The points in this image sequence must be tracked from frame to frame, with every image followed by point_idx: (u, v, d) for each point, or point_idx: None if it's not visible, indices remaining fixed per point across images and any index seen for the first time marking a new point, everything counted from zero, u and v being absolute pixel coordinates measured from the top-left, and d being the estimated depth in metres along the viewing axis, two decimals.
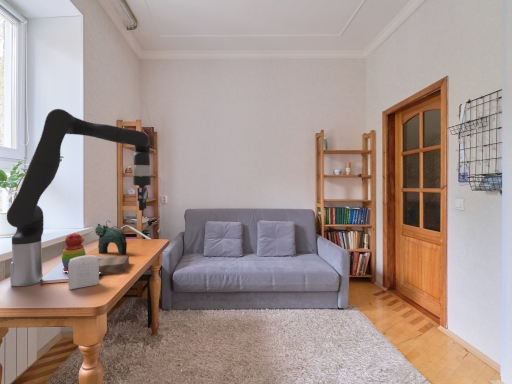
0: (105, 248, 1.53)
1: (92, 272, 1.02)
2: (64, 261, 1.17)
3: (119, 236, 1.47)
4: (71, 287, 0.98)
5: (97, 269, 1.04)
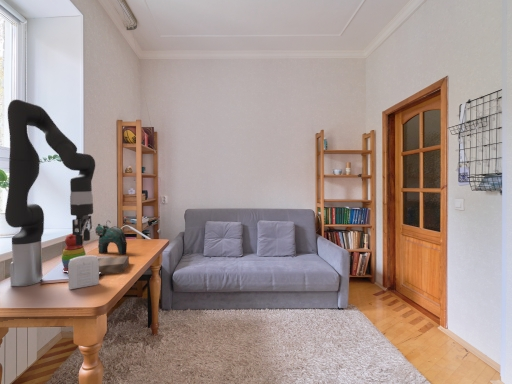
0: (105, 248, 1.53)
1: (92, 272, 1.02)
2: (64, 261, 1.17)
3: (119, 236, 1.47)
4: (71, 287, 0.98)
5: (97, 269, 1.04)
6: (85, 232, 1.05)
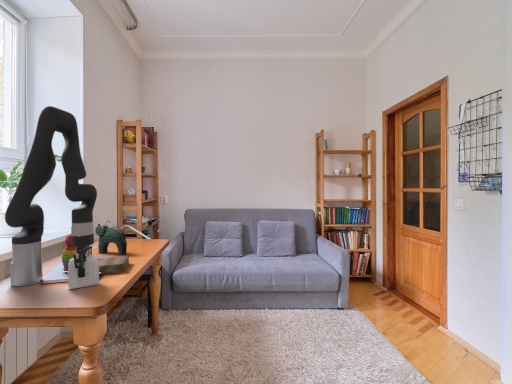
0: (105, 248, 1.53)
1: (92, 272, 1.02)
2: (64, 261, 1.17)
3: (119, 236, 1.47)
4: (71, 287, 0.98)
5: (97, 269, 1.04)
6: None
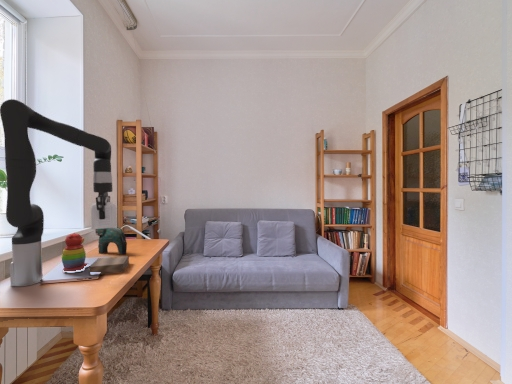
0: (105, 248, 1.53)
1: (111, 215, 1.17)
2: (64, 261, 1.17)
3: (119, 236, 1.47)
4: (94, 227, 1.14)
5: (115, 214, 1.19)
6: None
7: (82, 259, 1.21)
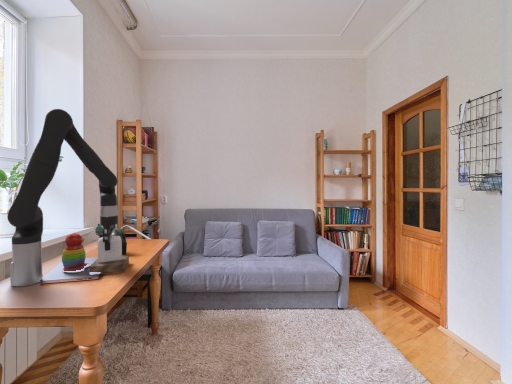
0: None
1: (116, 249, 1.22)
2: (64, 261, 1.17)
3: None
4: (100, 261, 1.19)
5: (120, 247, 1.24)
6: None
7: (82, 259, 1.21)
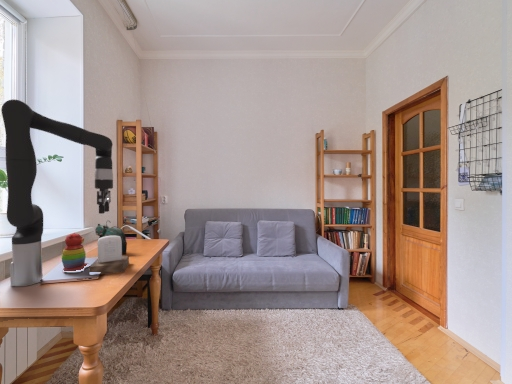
0: None
1: (116, 249, 1.22)
2: (64, 261, 1.17)
3: None
4: (100, 261, 1.19)
5: (120, 247, 1.24)
6: (105, 204, 1.25)
7: (82, 259, 1.21)
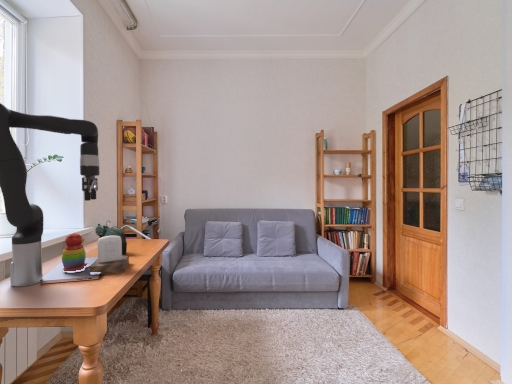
0: None
1: (116, 249, 1.22)
2: (64, 261, 1.17)
3: None
4: (100, 261, 1.19)
5: (120, 247, 1.24)
6: (92, 192, 1.21)
7: (82, 259, 1.21)
